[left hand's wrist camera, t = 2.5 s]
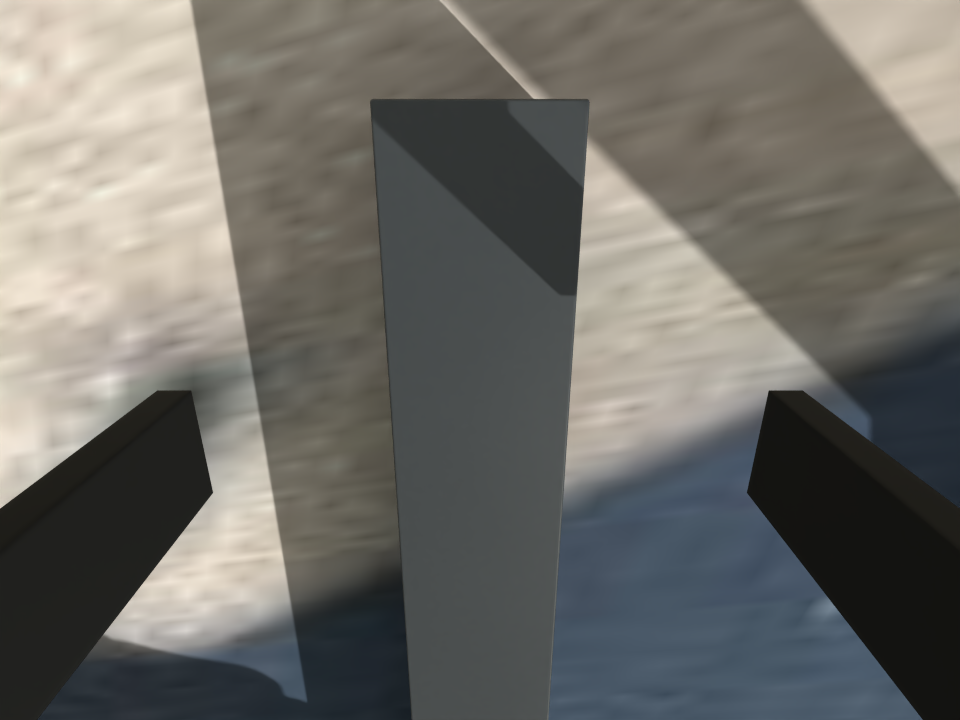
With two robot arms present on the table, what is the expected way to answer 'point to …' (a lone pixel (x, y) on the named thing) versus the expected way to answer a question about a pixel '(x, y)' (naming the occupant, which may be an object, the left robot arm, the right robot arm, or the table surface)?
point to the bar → (479, 385)
